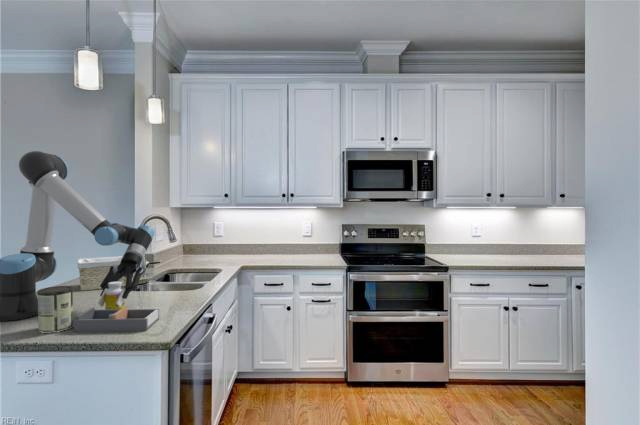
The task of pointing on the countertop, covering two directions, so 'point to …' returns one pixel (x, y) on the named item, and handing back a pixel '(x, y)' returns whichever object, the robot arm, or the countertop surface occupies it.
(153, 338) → the countertop surface
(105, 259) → the storage basket
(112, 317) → the lane pusher
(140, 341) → the countertop surface
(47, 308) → the coffee can
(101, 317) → the grey shallow box
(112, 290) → the supplement bottle
